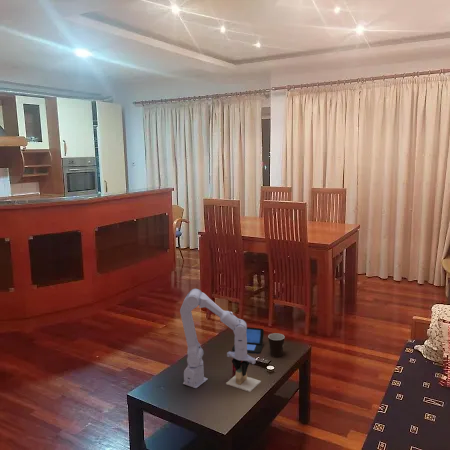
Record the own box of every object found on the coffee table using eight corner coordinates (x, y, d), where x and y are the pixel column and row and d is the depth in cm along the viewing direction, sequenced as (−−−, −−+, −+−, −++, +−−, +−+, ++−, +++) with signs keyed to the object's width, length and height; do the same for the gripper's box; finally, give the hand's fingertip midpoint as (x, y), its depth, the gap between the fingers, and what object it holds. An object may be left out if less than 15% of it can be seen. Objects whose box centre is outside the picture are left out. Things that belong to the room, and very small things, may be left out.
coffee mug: (279, 359, 220) (279, 341, 218) (265, 355, 225) (265, 337, 223) (290, 351, 229) (290, 333, 227) (276, 347, 234) (276, 330, 232)
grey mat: (250, 392, 191) (250, 390, 191) (226, 384, 198) (225, 382, 198) (261, 382, 199) (260, 380, 199) (237, 374, 206) (237, 373, 206)
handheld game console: (231, 352, 231) (231, 335, 229) (237, 341, 243) (236, 326, 242) (260, 354, 227) (259, 338, 225) (264, 343, 239) (264, 328, 238)
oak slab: (240, 384, 196) (239, 372, 195) (235, 383, 197) (235, 371, 196) (247, 378, 200) (246, 366, 199) (242, 377, 202) (242, 365, 201)
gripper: (258, 346, 195) (259, 374, 197) (232, 340, 203) (233, 366, 206) (251, 353, 189) (251, 381, 192) (224, 345, 198) (225, 372, 200)
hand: (241, 374), depth 198 cm, fingers closed on oak slab, 2 cm apart
